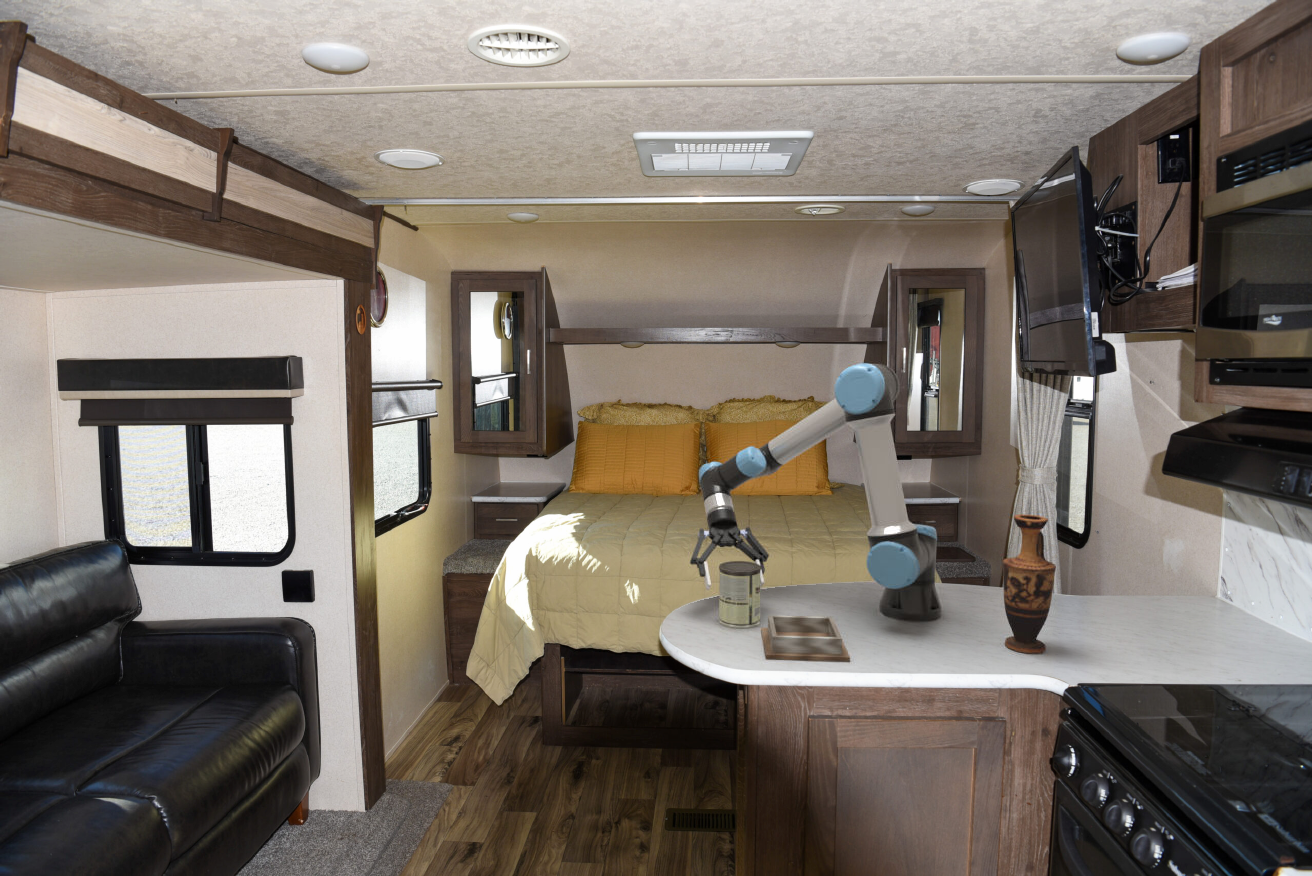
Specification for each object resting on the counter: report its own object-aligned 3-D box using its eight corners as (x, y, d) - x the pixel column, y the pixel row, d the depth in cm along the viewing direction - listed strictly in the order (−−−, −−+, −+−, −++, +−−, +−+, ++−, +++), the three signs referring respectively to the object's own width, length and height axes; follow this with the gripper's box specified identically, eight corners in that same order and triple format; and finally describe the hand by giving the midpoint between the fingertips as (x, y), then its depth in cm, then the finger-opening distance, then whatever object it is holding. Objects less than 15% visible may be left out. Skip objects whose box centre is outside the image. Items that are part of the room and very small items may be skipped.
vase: (1032, 660, 176) (1039, 524, 173) (988, 644, 185) (994, 515, 182) (1061, 650, 182) (1068, 518, 179) (1017, 636, 191) (1024, 510, 188)
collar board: (837, 633, 192) (838, 615, 192) (849, 661, 174) (850, 641, 174) (761, 631, 194) (761, 613, 193) (765, 659, 176) (766, 639, 175)
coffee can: (718, 614, 207) (719, 560, 205) (759, 615, 206) (760, 561, 204) (717, 627, 196) (718, 570, 195) (760, 629, 195) (761, 572, 194)
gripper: (762, 521, 220) (779, 591, 207) (672, 524, 215) (683, 595, 202) (769, 505, 214) (787, 576, 201) (676, 508, 210) (688, 580, 196)
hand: (735, 586), depth 201 cm, fingers open, 13 cm apart
